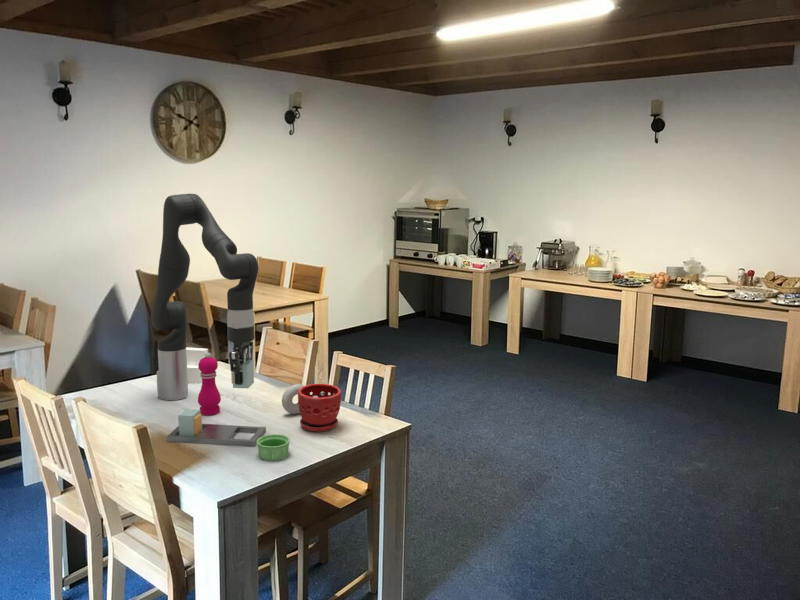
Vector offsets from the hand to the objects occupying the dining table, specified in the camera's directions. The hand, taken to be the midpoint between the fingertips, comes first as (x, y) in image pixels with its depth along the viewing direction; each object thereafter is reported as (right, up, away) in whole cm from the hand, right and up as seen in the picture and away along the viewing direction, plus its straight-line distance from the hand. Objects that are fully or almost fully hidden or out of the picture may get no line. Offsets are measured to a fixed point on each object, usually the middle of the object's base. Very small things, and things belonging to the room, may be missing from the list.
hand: (242, 380), depth 189 cm
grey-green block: (0, -1, 0) cm, 1 cm away
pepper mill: (-16, -13, +24) cm, 32 cm away
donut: (+12, -14, +24) cm, 30 cm away
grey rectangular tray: (-8, -17, +4) cm, 19 cm away
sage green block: (-16, -17, +5) cm, 24 cm away
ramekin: (+11, -20, -8) cm, 24 cm away
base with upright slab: (-31, -7, +57) cm, 65 cm away
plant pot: (+21, -16, +13) cm, 29 cm away
